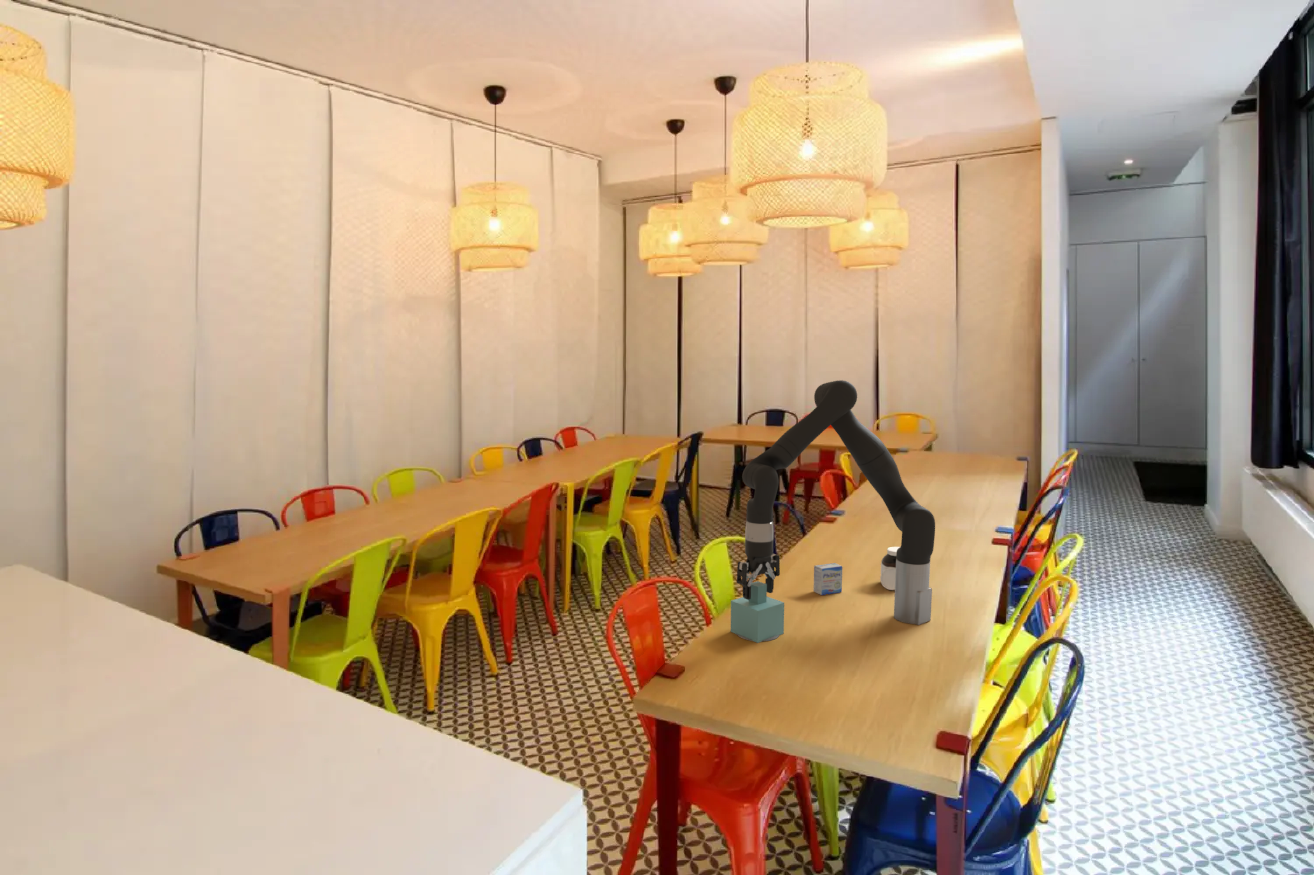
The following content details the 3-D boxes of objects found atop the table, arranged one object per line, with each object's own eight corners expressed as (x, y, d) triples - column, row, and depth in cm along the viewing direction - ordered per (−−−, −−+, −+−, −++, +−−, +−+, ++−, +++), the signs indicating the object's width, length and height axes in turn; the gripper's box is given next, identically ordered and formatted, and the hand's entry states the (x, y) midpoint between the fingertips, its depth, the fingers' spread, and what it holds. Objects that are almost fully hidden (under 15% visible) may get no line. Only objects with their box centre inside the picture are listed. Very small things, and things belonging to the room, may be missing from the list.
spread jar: (907, 580, 259) (909, 546, 258) (920, 591, 248) (922, 555, 247) (872, 580, 259) (873, 546, 257) (883, 591, 248) (884, 556, 246)
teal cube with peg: (783, 633, 213) (784, 584, 212) (757, 642, 207) (758, 592, 205) (756, 623, 221) (757, 575, 219) (730, 631, 215) (731, 583, 213)
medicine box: (820, 595, 244) (821, 569, 243) (812, 591, 248) (813, 565, 247) (842, 592, 247) (843, 566, 246) (833, 588, 251) (834, 562, 250)
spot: (789, 634, 213) (789, 633, 213) (758, 645, 206) (758, 644, 206) (757, 621, 222) (757, 620, 222) (726, 631, 215) (726, 630, 215)
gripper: (750, 544, 203) (749, 604, 205) (787, 535, 212) (786, 593, 214) (730, 538, 209) (729, 597, 211) (767, 530, 218) (766, 586, 220)
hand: (758, 595), depth 213 cm, fingers open, 8 cm apart
